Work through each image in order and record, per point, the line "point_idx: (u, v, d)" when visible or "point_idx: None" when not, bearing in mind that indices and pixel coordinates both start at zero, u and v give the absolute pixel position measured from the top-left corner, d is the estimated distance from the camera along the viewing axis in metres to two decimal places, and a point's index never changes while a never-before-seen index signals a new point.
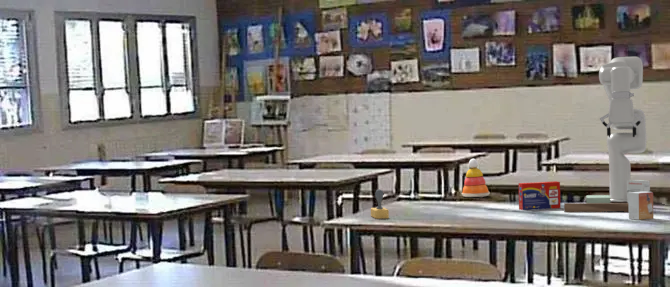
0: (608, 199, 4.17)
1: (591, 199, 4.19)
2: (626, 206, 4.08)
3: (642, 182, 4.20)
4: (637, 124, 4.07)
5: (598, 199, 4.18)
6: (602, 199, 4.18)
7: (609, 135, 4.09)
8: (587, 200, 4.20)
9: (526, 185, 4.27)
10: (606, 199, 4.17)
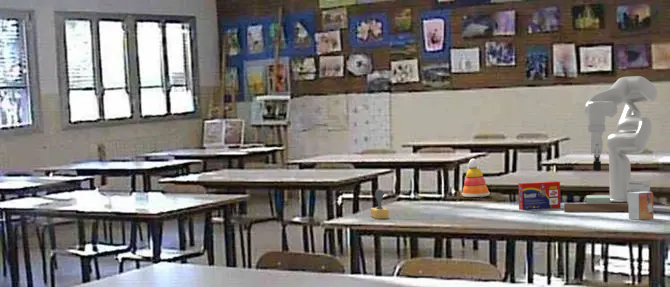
0: (608, 199, 4.17)
1: (591, 199, 4.19)
2: (626, 206, 4.08)
3: (642, 182, 4.20)
4: None
5: (598, 199, 4.18)
6: (602, 199, 4.18)
7: (600, 168, 4.33)
8: (587, 200, 4.20)
9: (526, 185, 4.27)
10: (606, 199, 4.17)
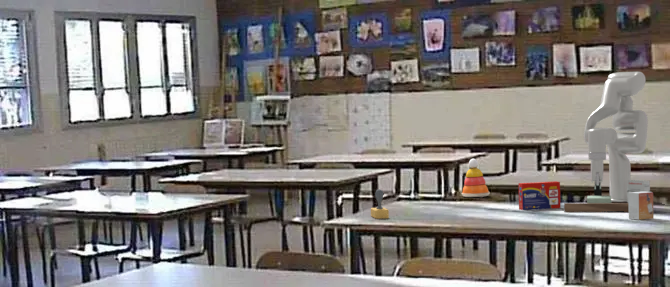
0: (609, 199, 4.16)
1: (592, 199, 4.18)
2: (626, 206, 4.08)
3: (642, 182, 4.20)
4: None
5: (599, 199, 4.17)
6: (603, 199, 4.17)
7: None
8: (588, 200, 4.19)
9: (526, 185, 4.27)
10: (607, 199, 4.16)
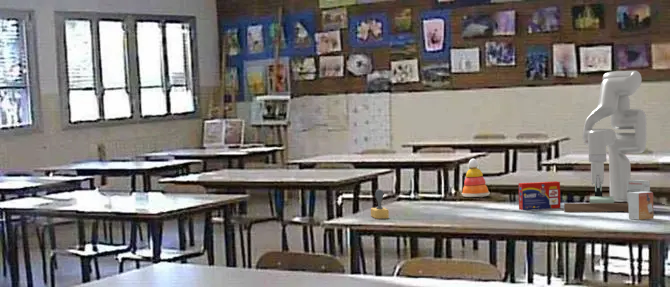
0: (612, 200, 4.11)
1: (594, 200, 4.13)
2: (626, 206, 4.08)
3: (642, 182, 4.20)
4: None
5: (602, 200, 4.12)
6: (606, 200, 4.12)
7: None
8: (590, 201, 4.13)
9: (526, 185, 4.27)
10: (610, 200, 4.11)
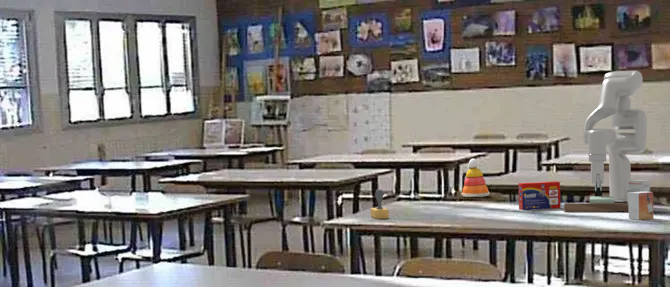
0: (612, 200, 4.11)
1: (594, 200, 4.13)
2: (626, 206, 4.08)
3: (642, 182, 4.20)
4: None
5: (602, 200, 4.12)
6: (606, 200, 4.12)
7: None
8: (590, 201, 4.13)
9: (526, 185, 4.27)
10: (610, 200, 4.11)
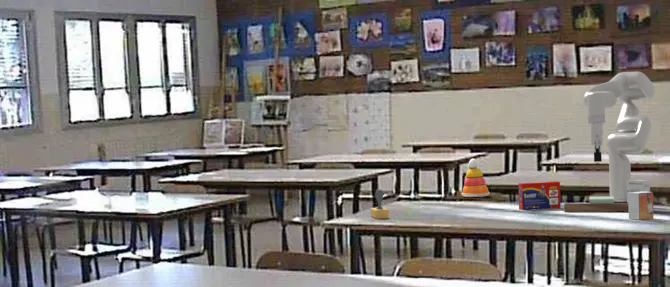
0: (612, 200, 4.11)
1: (594, 200, 4.13)
2: (626, 206, 4.08)
3: (642, 182, 4.20)
4: None
5: (601, 200, 4.12)
6: (605, 200, 4.12)
7: None
8: (590, 201, 4.13)
9: (526, 185, 4.27)
10: (610, 200, 4.11)
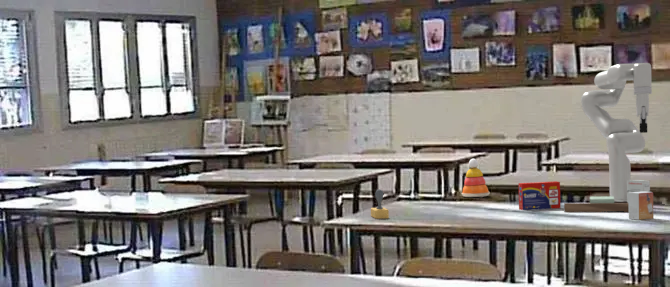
0: (612, 200, 4.11)
1: (595, 200, 4.13)
2: (626, 206, 4.08)
3: (642, 182, 4.20)
4: None
5: (602, 200, 4.12)
6: (606, 200, 4.12)
7: None
8: (591, 201, 4.13)
9: (526, 185, 4.27)
10: (610, 200, 4.11)
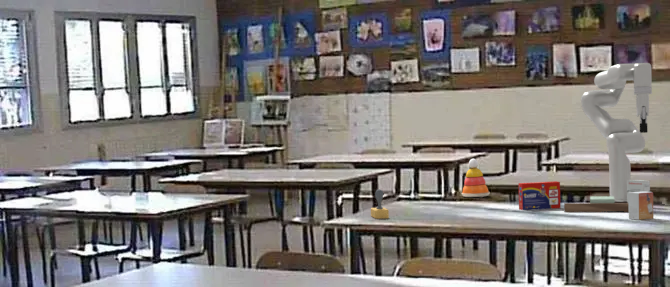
0: (612, 200, 4.11)
1: (595, 200, 4.13)
2: (626, 206, 4.08)
3: (642, 182, 4.20)
4: None
5: (602, 200, 4.12)
6: (606, 200, 4.12)
7: None
8: (591, 201, 4.13)
9: (526, 185, 4.27)
10: (610, 200, 4.11)
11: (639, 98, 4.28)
